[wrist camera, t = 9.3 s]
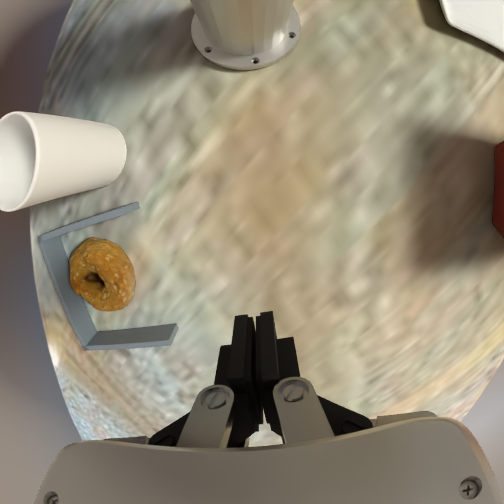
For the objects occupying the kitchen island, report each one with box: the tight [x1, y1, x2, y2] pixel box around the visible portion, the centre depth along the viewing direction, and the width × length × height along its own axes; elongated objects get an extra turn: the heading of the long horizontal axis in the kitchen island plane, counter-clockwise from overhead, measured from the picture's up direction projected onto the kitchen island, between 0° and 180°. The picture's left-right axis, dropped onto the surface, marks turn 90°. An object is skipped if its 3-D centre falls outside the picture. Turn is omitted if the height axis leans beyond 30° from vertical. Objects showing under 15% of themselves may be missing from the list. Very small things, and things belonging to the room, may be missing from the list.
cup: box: [0, 112, 126, 212], centre depth 22 cm, size 8×8×16 cm
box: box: [38, 202, 178, 350], centre depth 33 cm, size 18×15×4 cm
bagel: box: [69, 238, 136, 311], centre depth 33 cm, size 10×11×5 cm
